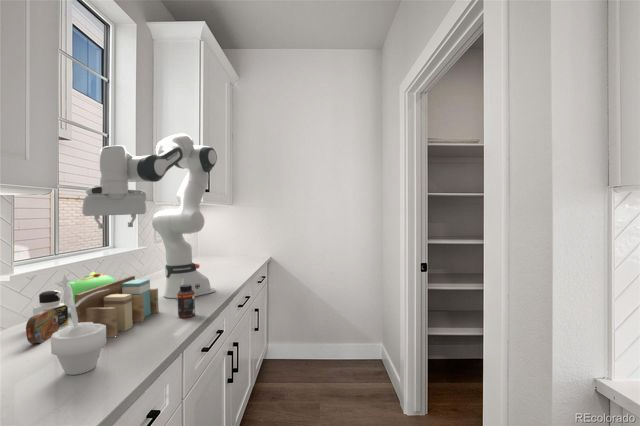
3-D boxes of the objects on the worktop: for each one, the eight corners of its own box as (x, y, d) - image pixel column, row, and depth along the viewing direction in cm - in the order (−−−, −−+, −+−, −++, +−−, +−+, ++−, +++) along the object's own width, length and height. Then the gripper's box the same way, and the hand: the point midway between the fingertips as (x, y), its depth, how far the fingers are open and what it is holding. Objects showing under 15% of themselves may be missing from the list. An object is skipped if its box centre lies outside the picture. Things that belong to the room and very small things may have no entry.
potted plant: (42, 384, 84) (37, 275, 83) (64, 363, 95) (61, 267, 95) (103, 376, 87) (99, 271, 86) (118, 357, 98) (115, 264, 98)
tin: (36, 347, 107) (35, 318, 107) (24, 348, 107) (22, 319, 106) (61, 330, 122) (60, 305, 122) (50, 331, 121) (49, 306, 121)
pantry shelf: (158, 311, 141) (157, 275, 141) (109, 340, 111) (107, 294, 111) (132, 311, 142) (130, 275, 141) (76, 340, 112) (74, 294, 111)
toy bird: (91, 317, 136) (90, 277, 136) (56, 314, 141) (54, 276, 140) (128, 304, 154) (127, 269, 153) (96, 302, 158) (95, 268, 158)
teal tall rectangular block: (150, 313, 139) (149, 279, 138) (140, 319, 132) (139, 283, 131) (134, 313, 139) (133, 279, 139) (123, 319, 132) (121, 283, 132)
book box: (132, 326, 124) (131, 294, 124) (125, 330, 120) (124, 297, 120) (112, 326, 125) (111, 294, 124) (104, 330, 121) (103, 297, 120)
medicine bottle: (48, 330, 122) (46, 294, 122) (33, 328, 125) (31, 293, 124) (68, 323, 129) (67, 289, 129) (54, 321, 131) (53, 288, 131)
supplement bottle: (198, 314, 135) (197, 284, 135) (184, 319, 130) (183, 287, 130) (188, 312, 139) (187, 282, 139) (174, 316, 134) (173, 286, 134)
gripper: (144, 190, 142) (145, 225, 142) (81, 190, 129) (82, 229, 130) (147, 189, 137) (148, 226, 137) (82, 189, 124) (84, 229, 125)
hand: (116, 227), depth 133 cm, fingers open, 8 cm apart
